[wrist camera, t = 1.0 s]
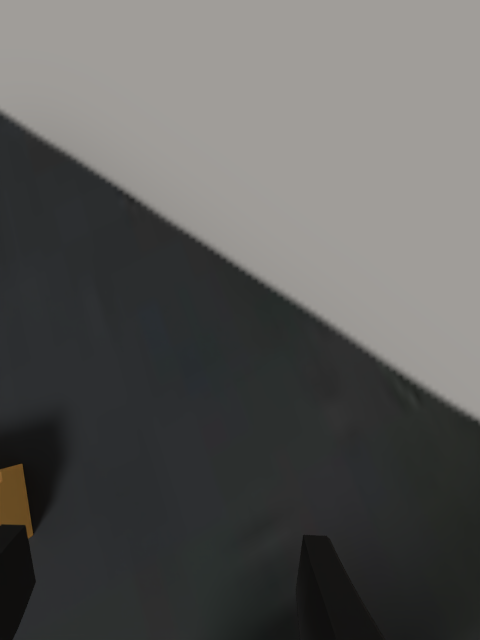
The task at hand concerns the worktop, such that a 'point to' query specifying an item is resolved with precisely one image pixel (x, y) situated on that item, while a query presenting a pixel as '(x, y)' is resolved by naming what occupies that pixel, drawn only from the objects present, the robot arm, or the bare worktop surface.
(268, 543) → the worktop surface
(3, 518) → the tan stepped block
